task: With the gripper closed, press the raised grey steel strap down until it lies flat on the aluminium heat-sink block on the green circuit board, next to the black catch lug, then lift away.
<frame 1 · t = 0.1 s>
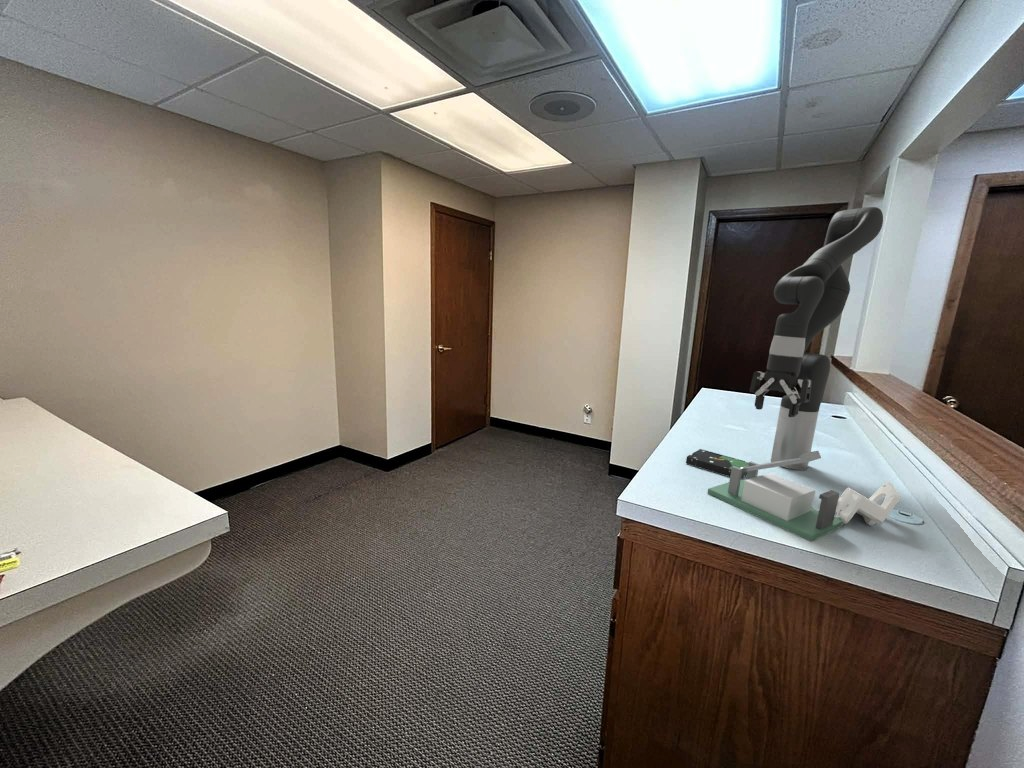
hand: (774, 412, 112), 17 cm above the worktop, tool pointing down, fingers open, 8 cm apart
strap: (775, 462, 93), point 11 cm above the worktop, hinge at 30.0°
mounting bracket: (860, 520, 92), on the worktop
disk drive: (717, 469, 119), on the worktop
board: (770, 508, 95), on the worktop
lug: (826, 509, 85), point 5 cm above the worktop
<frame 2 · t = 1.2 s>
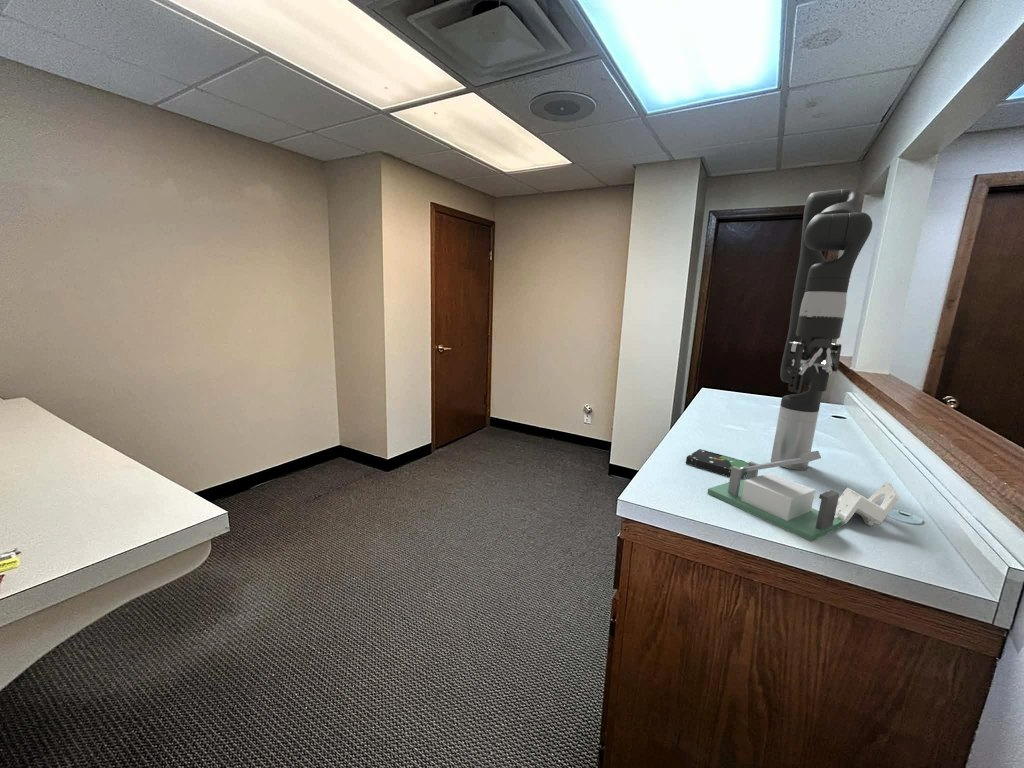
hand: (806, 391, 88), 28 cm above the worktop, tool pointing down, fingers open, 8 cm apart
nothing on the worktop moved.
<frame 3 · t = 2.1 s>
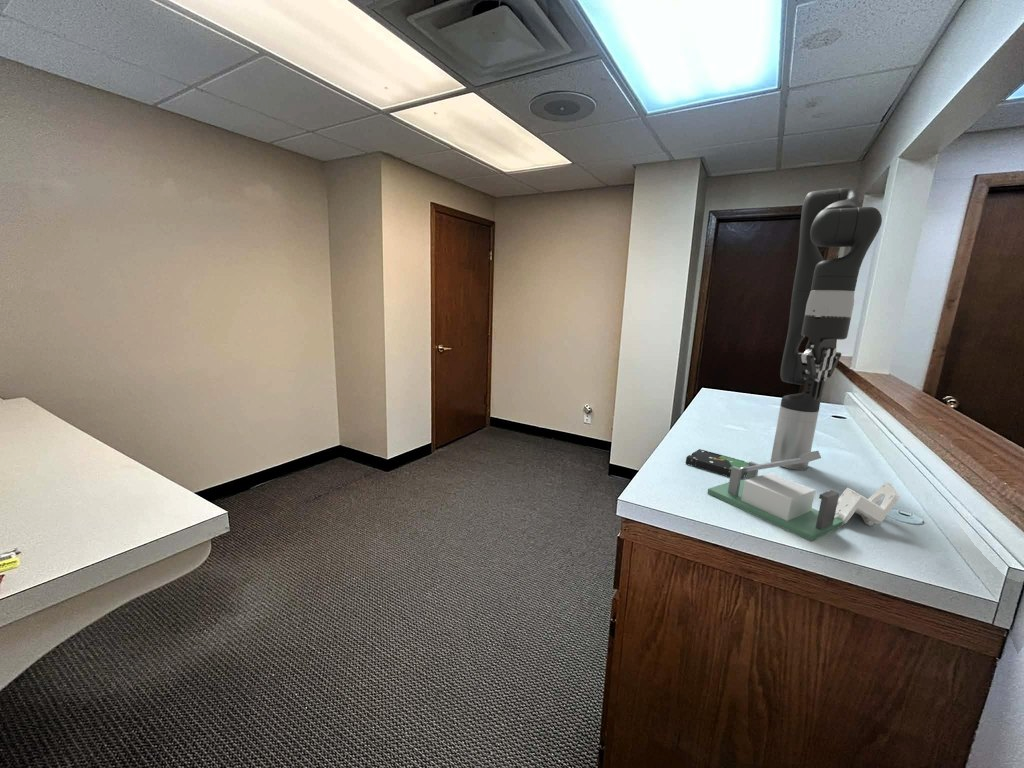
hand: (811, 398, 86), 27 cm above the worktop, tool pointing down, fingers closed
nothing on the worktop moved.
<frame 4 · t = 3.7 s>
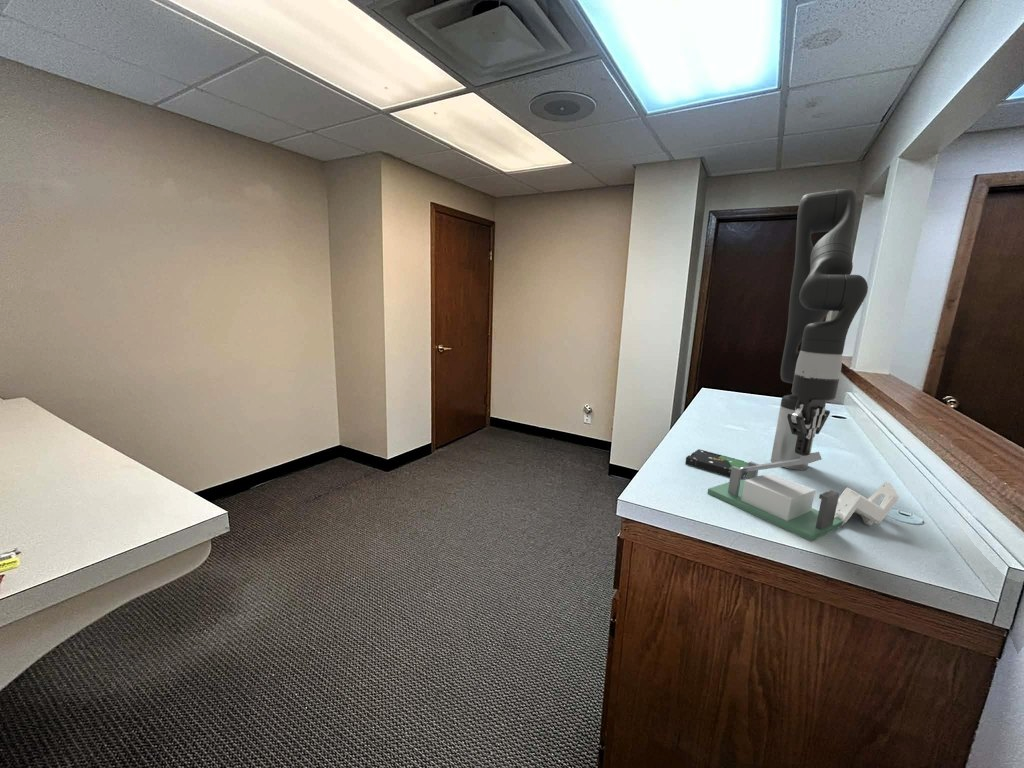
hand: (801, 453, 88), 15 cm above the worktop, tool pointing down, fingers closed
strap: (775, 463, 93), point 11 cm above the worktop, hinge at 29.0°, touching gripper
mounting bracket: (858, 520, 92), on the worktop, touching board
everything else where it was.
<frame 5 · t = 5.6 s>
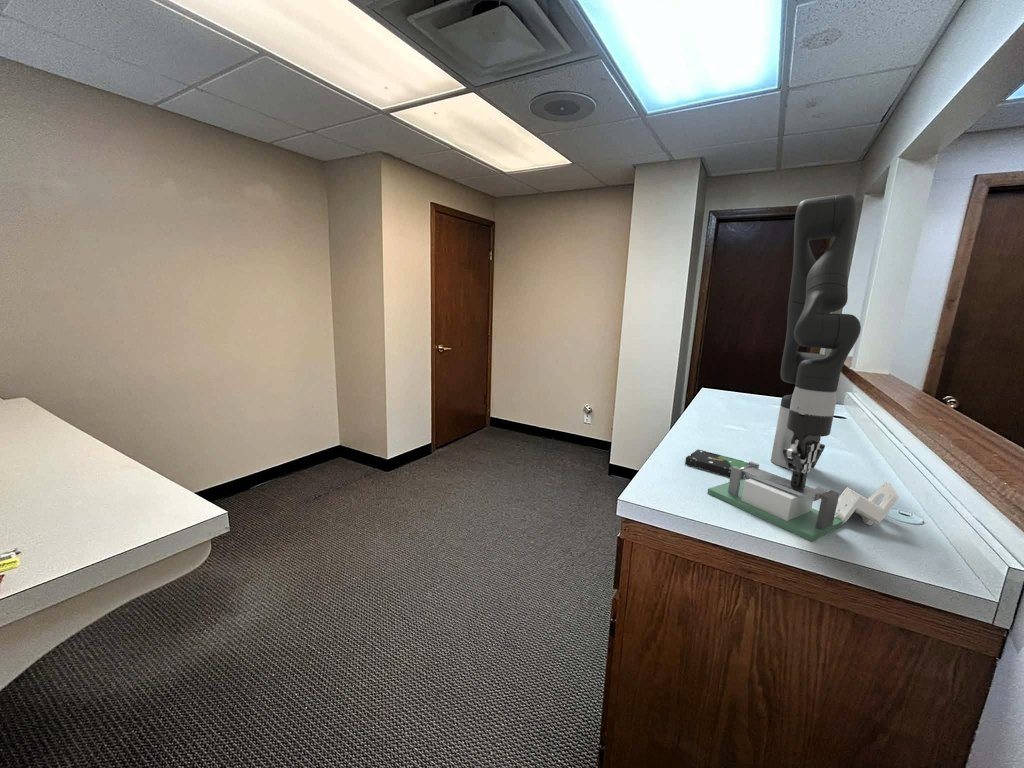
hand: (797, 487, 89), 7 cm above the worktop, tool pointing down, fingers closed
strap: (778, 480, 93), point 7 cm above the worktop, hinge at 0.4°, touching gripper
mounting bracket: (858, 520, 92), on the worktop
everything else where it was.
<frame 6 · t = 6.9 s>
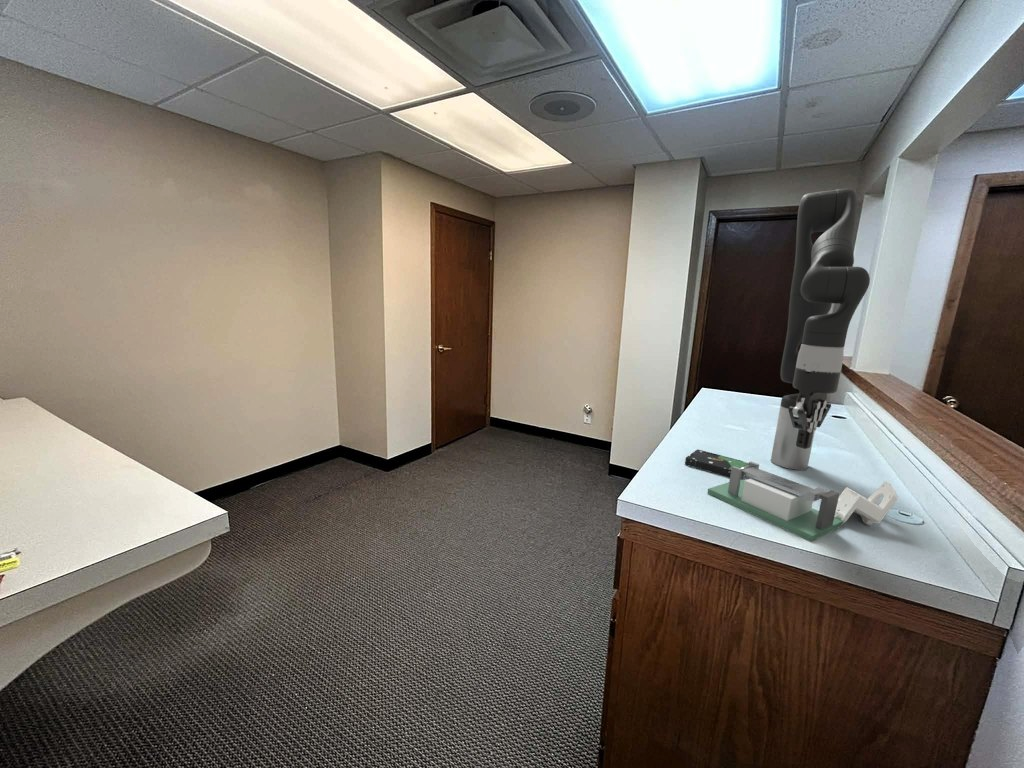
hand: (802, 447, 88), 16 cm above the worktop, tool pointing down, fingers closed
strap: (778, 480, 93), point 7 cm above the worktop, hinge at 0.3°
everything else where it was.
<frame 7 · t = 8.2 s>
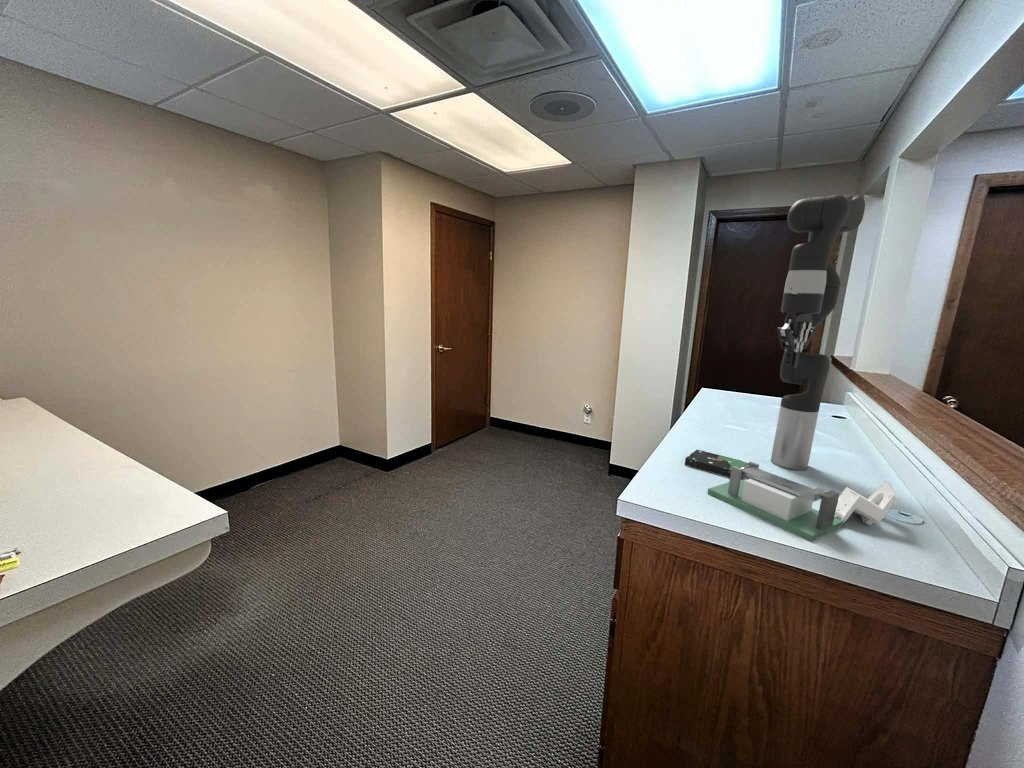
hand: (790, 367, 97), 32 cm above the worktop, tool pointing down, fingers closed
nothing on the worktop moved.
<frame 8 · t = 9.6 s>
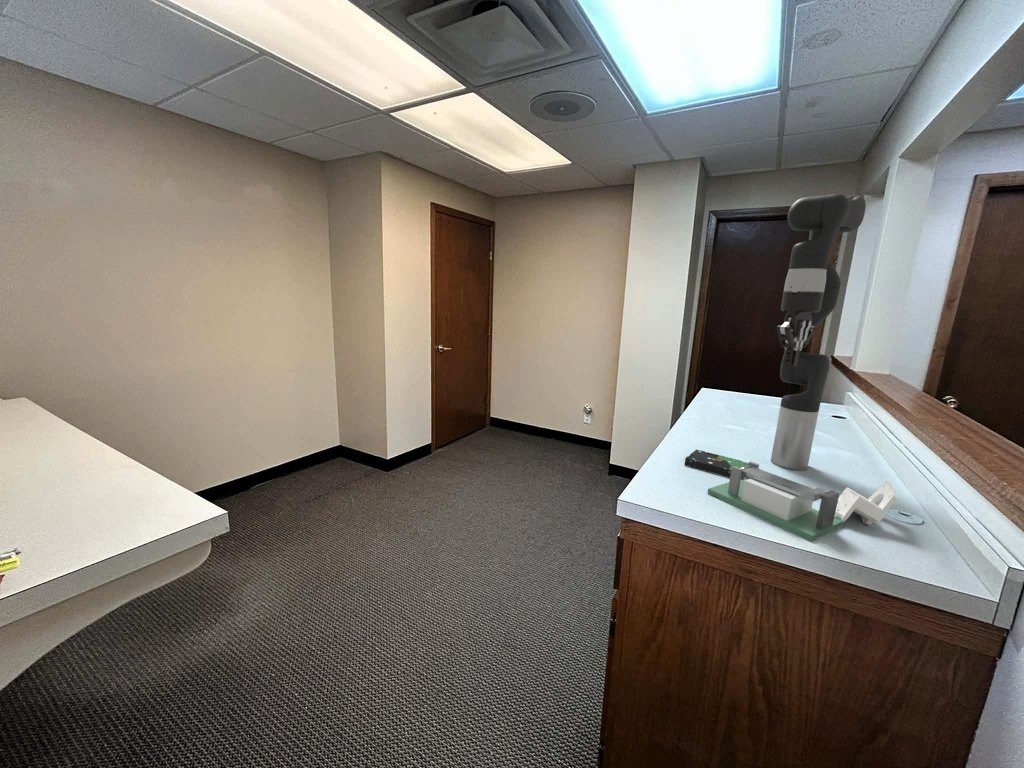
hand: (790, 366, 97), 32 cm above the worktop, tool pointing down, fingers closed
nothing on the worktop moved.
at the end: strap at +0° (first picture: +30°); mounting bracket moved 0.6 cm from its start; disk drive moved 1.2 cm from its start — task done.
